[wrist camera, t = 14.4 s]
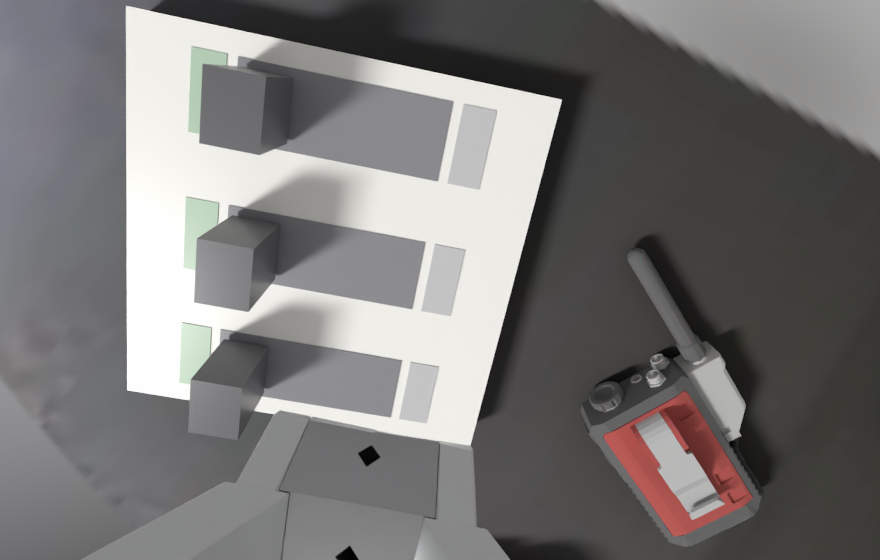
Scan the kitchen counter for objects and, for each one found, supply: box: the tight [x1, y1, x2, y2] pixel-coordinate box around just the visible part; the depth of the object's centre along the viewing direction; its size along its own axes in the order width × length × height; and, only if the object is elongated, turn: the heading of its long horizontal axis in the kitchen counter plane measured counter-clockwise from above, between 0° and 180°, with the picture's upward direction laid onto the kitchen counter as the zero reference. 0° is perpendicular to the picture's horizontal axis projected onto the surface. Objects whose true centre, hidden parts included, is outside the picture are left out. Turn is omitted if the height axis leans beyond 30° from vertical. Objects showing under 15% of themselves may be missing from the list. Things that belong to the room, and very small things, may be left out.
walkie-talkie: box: [581, 248, 764, 547], centre depth 32 cm, size 9×4×20 cm
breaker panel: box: [126, 6, 562, 445], centre depth 29 cm, size 20×20×2 cm
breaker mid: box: [194, 215, 281, 312], centre depth 25 cm, size 2×3×4 cm
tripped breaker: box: [199, 64, 293, 155], centre depth 23 cm, size 2×3×4 cm
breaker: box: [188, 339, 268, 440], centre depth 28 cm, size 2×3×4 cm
